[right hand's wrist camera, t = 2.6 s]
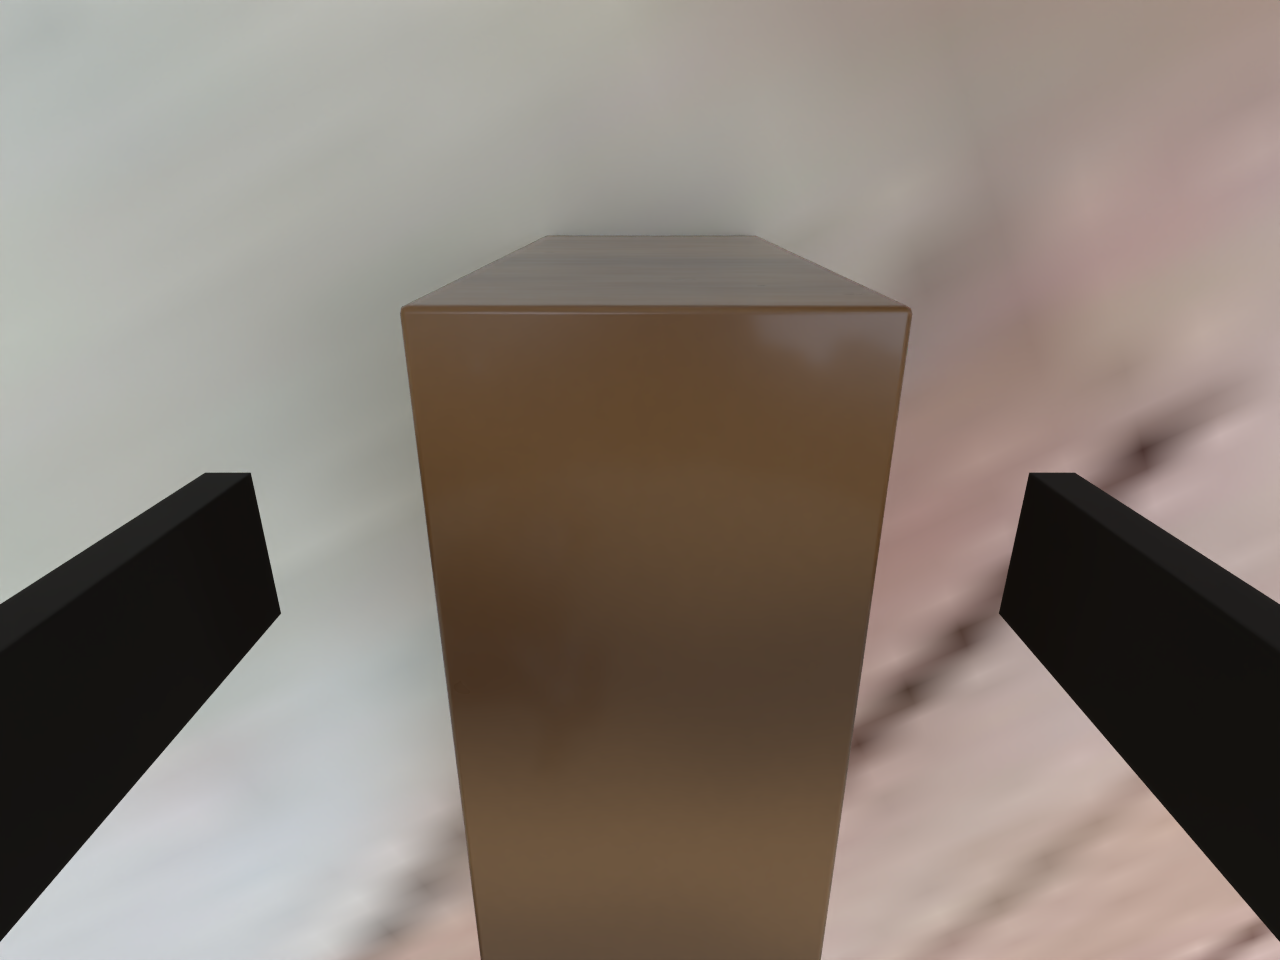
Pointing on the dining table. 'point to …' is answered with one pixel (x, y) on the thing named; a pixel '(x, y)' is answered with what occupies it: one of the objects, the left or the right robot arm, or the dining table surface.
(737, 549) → the box
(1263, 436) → the dining table surface
